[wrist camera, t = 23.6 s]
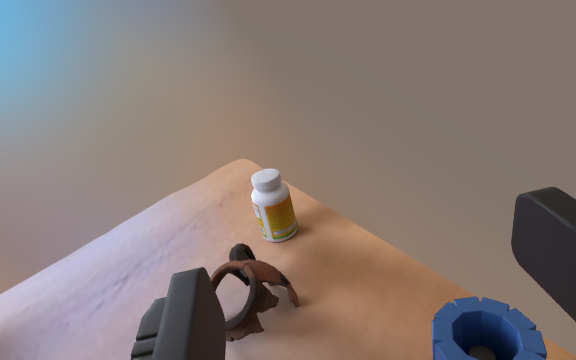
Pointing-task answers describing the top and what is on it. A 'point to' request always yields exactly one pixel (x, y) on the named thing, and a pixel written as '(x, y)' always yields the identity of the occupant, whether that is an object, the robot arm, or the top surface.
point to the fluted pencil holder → (484, 331)
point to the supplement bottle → (273, 206)
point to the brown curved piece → (251, 290)
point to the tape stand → (481, 353)
